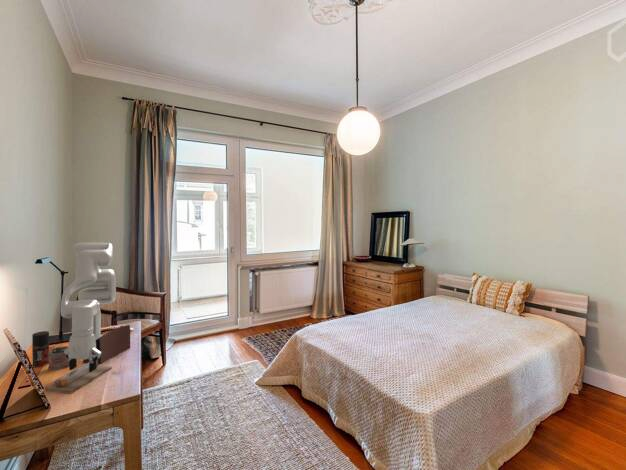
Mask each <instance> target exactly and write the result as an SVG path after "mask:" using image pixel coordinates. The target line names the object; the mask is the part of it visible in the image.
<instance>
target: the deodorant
mask: <svg viewBox="0 0 626 470" xmlns="http://www.w3.org/2000/svg"><path fill="white" fill-rule="evenodd" d="M31 337H32V339H31V340H32V343H31V345H32V356H31V357H32V360H31V361H32V365H31V366H32V367H33V366H34V368H40V367H43V366H47V365H49V355H48V353H50V331H45V330H44V331H37V332H35V333H33V334H32V335H31Z"/></svg>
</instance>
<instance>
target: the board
mask: <svg viewBox="0 0 626 470" xmlns="http://www.w3.org/2000/svg"><path fill="white" fill-rule="evenodd" d="M112 369H113V367H112V366H109V365H108V366H107V365H100V364H97V368H96V369H95V370H94V371H92V372H88V373H87V374H85V375H83V376H81V377H80V378H78V379H76V380H74V381H72V382H71V383H69V384H67V385H66V386H64V387H56V382H54V383H52V384H50V385H48V386H46V387H45V389H44V390H45V392H55V393H69V394H73V393H75V392H76V391H78V390H79V389H80V388H82V387H84V386H86V385H87V384H89V383H91V382H92V381H94V380H96V379H98V378H99V377H100V376H102V375H103V374H106V373H107V372H109V371H110V370H112Z"/></svg>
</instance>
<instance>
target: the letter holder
mask: <svg viewBox="0 0 626 470" xmlns="http://www.w3.org/2000/svg"><path fill="white" fill-rule="evenodd" d="M95 341H96V349H97V350H99V351H100V352H102V354H101V356H100V358H99V359H98V360H97V365H100V364H103V363H105V362H107V361H109V360H110V358H111V359H113V358H115V357H116V356H118V355H119V354H122V353H124V352H125V351H127V350H129V349H131V325H130V324H125V325H122V326H119V327H116V328H114V329H112V330H110V331H108V332H106V333H104V334H103V335H101V337H100V338H98V339H96V340H95ZM95 356H96V355H95ZM91 358H92V359H93V357H91ZM82 362H83V363H89V362H90V361H89V360H88V359H86V360H83V361H82Z"/></svg>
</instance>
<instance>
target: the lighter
mask: <svg viewBox="0 0 626 470" xmlns="http://www.w3.org/2000/svg"><path fill="white" fill-rule="evenodd" d="M68 346H69V345H61V346H60V345H58V346H57V347H55V346H54V347H51V351H49V353H48V355H49V363H48V366H47V367H48V368H47V369H48V370H49V371H50V370H59V369H65V368H67V369H68V368H69V361H68V358H67V357H66V354H65V352H64V350H66V349H68Z"/></svg>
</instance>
